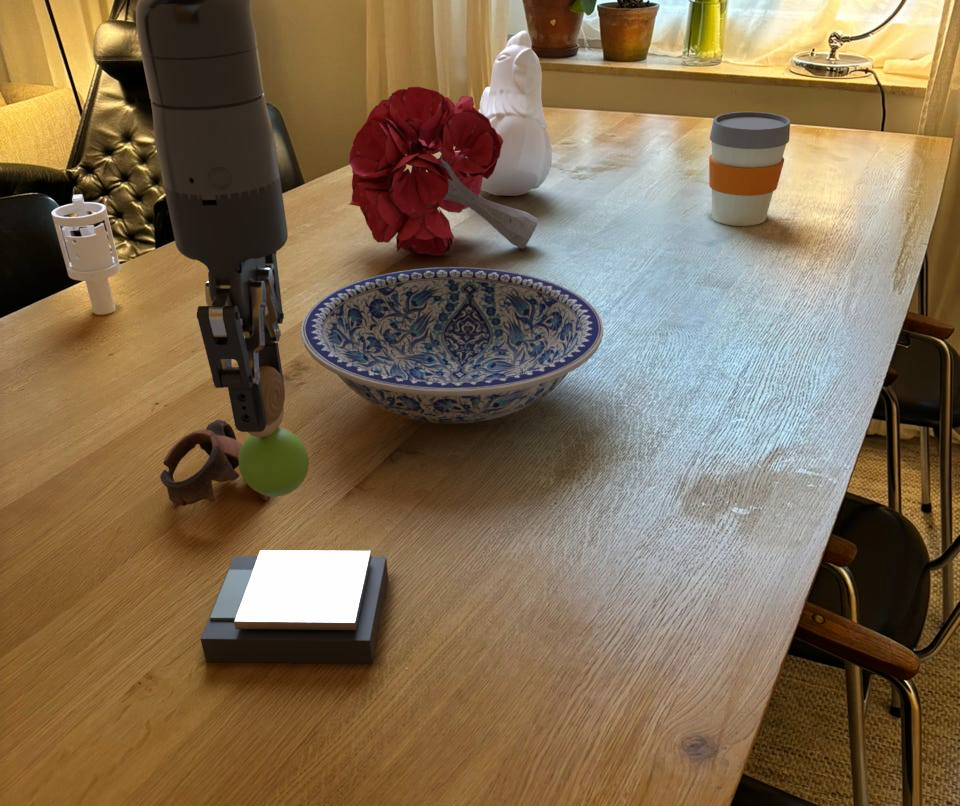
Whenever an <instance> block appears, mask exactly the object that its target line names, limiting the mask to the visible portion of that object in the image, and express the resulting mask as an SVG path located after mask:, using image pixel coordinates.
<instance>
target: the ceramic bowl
mask: <svg viewBox="0 0 960 806" xmlns="http://www.w3.org/2000/svg"><path fill="white" fill-rule="evenodd" d="M300 336H301V340H302V343H303V345H304V348H305V350H306V351H307V352H308V354H309V356H311V358H312V359H313V360H315V361H316V362H317V364H319V365H320V366H322V367H323V368H325V369H326V370H328V371H329V372H332V373H333V374H335V375H337V376H338V377H339V379H341V381H342V382H343V383H345V385H346V386H347V387H348V388H350V390H352V391H353V392H355V394H357V395H358V396H360V397H361V398H362V399H364V400H366V401H367V402H369V403H370V404H372V405H374V406H376V407H377V408H380V409H382V410H384V411H386V412H389V413H391V414H394V415H397V416H399V417H402V418H403V417H404V418H407V419H410V420H414V421H415V420H416V421H420V422H426V423H435V424H469V423H470V424H471V423H478V422H479V423H480V422H483V421H484V422H485V421H490V420H495V419H499V418H503V417H505V416H508V415H511V414H514V413H516V412H518V411H519V412H520V411H521V410H523V409H525V408H528V407H529V406H531V405H533V404H535V403H536V402H538V401H539V400H541V399H542V398H545V396H546V395H548V394H549V393H550V392H551V391H553V390H554V389H555V388H557V386H558V385H559V384H561V383H562V381H563V380H564V379H565V378H566V377H567V375H568V374H569V373H571V372H573V371H574V370H576V369H578V368H579V367H581V366H582V365H584V364H585V363H586V362H587V361H589V359H591V358H592V357H593V356H594V355H595V353H596V352H597V351H598V350H599V347H600V345H601V344H602V341H603V336H604V325H603V319H602V318H601V316H600V314H599V312H598V311H597V309H596V308H595V307H594V306H593V305H592V304H591V303H590V302H589V301H587V299H586V298H584V297H582V296H581V295H579V294H578V293H576V292H575V291H574V290H573V291H572V290H571V289H569V288H567V287H564V286H563V285H560V284H558V283H555V282H552V281H549V280H546V279H544V278H541V277H537V276H532V275H530V274H529V275H528V274H524V273H518V272H514V271H509V270H503V269H493V268H486V267H485V268H484V267H471V266H469V267H468V266H467V267H465V266H440V267H439V266H438V267H424V268H423V267H422V268H414V269H407V270H399V271H393V272H388V273H383V274H378V275H374V276H371V277H370V276H369V277H368V278H364V279H360V280H357V281H354V282H351V283H349V284H346V285H344V286H341V287H340V288H338V289H336V290H333V291H332V292H329V293H328V294H327V295H325V296H323V297H322V298H321V299H320V300H318V301H317V302H315V304H313V305H312V306H311V308H310V309H309V310H308V311H307V312H306V314H305V316H304V317H303V320H302V323H301V329H300Z"/></svg>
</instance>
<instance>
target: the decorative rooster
mask: <svg viewBox="0 0 960 806" xmlns="http://www.w3.org/2000/svg"><path fill="white" fill-rule="evenodd" d="M532 44H533V41H532V38H531V36H530V34H529V32H528V31H527V30H521V31H519V32H518V33H516V34H515V35H513V36H511V37H510V38H509V40H508V41H506V44H505V47H504V49H503V50H502V51H500V52H499V54H498V55H497V56H496V57H495V60H494V62H493V65H492V69H491V76H490V84H489V86H486V87H485V88H484V90H483V92H482V95H481V97H480V101H479V110H478V112H479V113H481V114H483V115H484V116H485V117H487V118H488V119H489V120H490V124H491V127H492V128H494V129H495V130H496V133H497V134H499V135H500V136H501V137H502V140H503V144H502V148H501V151H500V157H499V158H498V160H497V164H496V167H495V169H494V172H493V174H492V175H491V176H490V177H489V178H488V179H486V178H484V177H483V181H482V185H481V189H480V190H481V191H483V192H486V193H487V194H491V195H493V196H505V197H506V196H509V197H519V196H523V195H524V194H527V193H528V192H530V191H532V190H536V189H538V188H539V187H540V186H542V185H543V183H544V182H545V181H546V179H547V177H548V175H549V173H550V171H551V168H552V164H553V163H552V162H553V149H552V143H551V140H550V136H549V132H548V131H547V128H548V124H547V122H546V117H545V113H544V108H543V101H542V100H543V99H542V87H543V86H542V85H543V72H542V65H541V62H540V58H539V57H538V55H537V54H536V52H535V51H534V50H533V48H532V47H533V46H532ZM466 158H467V157H466Z"/></svg>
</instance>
